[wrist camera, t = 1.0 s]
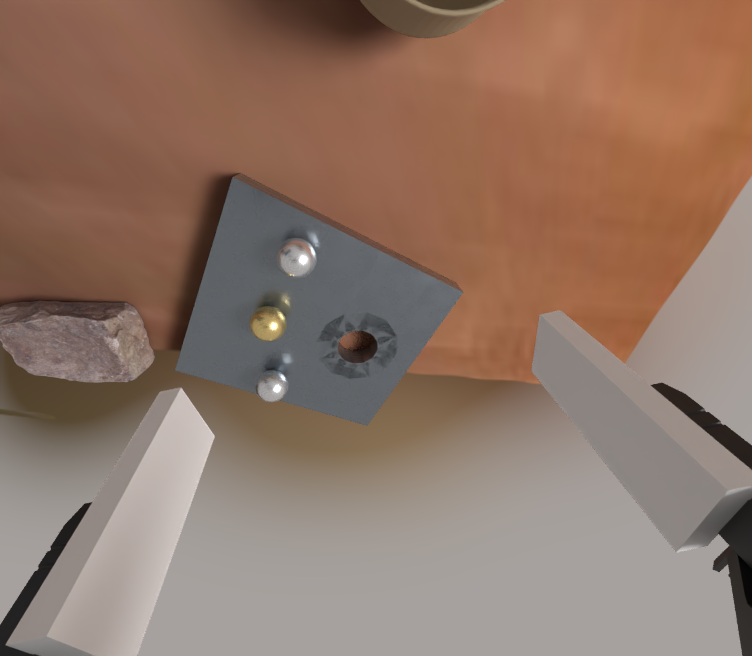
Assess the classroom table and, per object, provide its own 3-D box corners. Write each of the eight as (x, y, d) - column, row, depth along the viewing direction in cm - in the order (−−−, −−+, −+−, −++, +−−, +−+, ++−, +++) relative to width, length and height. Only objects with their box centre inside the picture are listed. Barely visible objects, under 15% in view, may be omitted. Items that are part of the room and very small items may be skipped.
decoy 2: (254, 381, 38) (248, 403, 35) (264, 359, 36) (258, 380, 33) (283, 390, 39) (279, 412, 36) (294, 369, 37) (291, 390, 34)
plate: (183, 356, 38) (175, 370, 36) (239, 173, 28) (232, 176, 26) (365, 411, 46) (367, 425, 44) (455, 282, 37) (463, 292, 34)
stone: (6, 293, 32) (-40, 316, 28) (137, 292, 34) (111, 315, 30) (49, 365, 37) (15, 394, 33) (162, 362, 38) (143, 389, 34)
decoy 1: (273, 259, 30) (267, 274, 27) (286, 226, 29) (281, 237, 26) (308, 275, 32) (306, 290, 29) (323, 243, 30) (322, 256, 27)
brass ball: (248, 322, 34) (240, 341, 31) (259, 294, 32) (252, 311, 29) (281, 333, 35) (276, 353, 32) (293, 308, 33) (289, 325, 30)
